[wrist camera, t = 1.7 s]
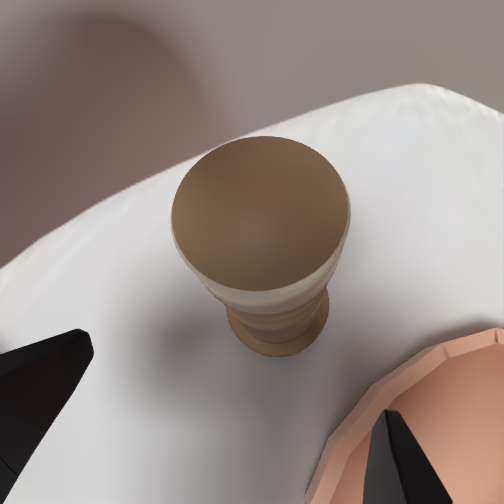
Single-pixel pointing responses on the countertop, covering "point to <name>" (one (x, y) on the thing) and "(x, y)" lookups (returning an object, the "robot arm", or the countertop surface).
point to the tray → (430, 422)
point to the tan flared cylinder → (264, 237)
